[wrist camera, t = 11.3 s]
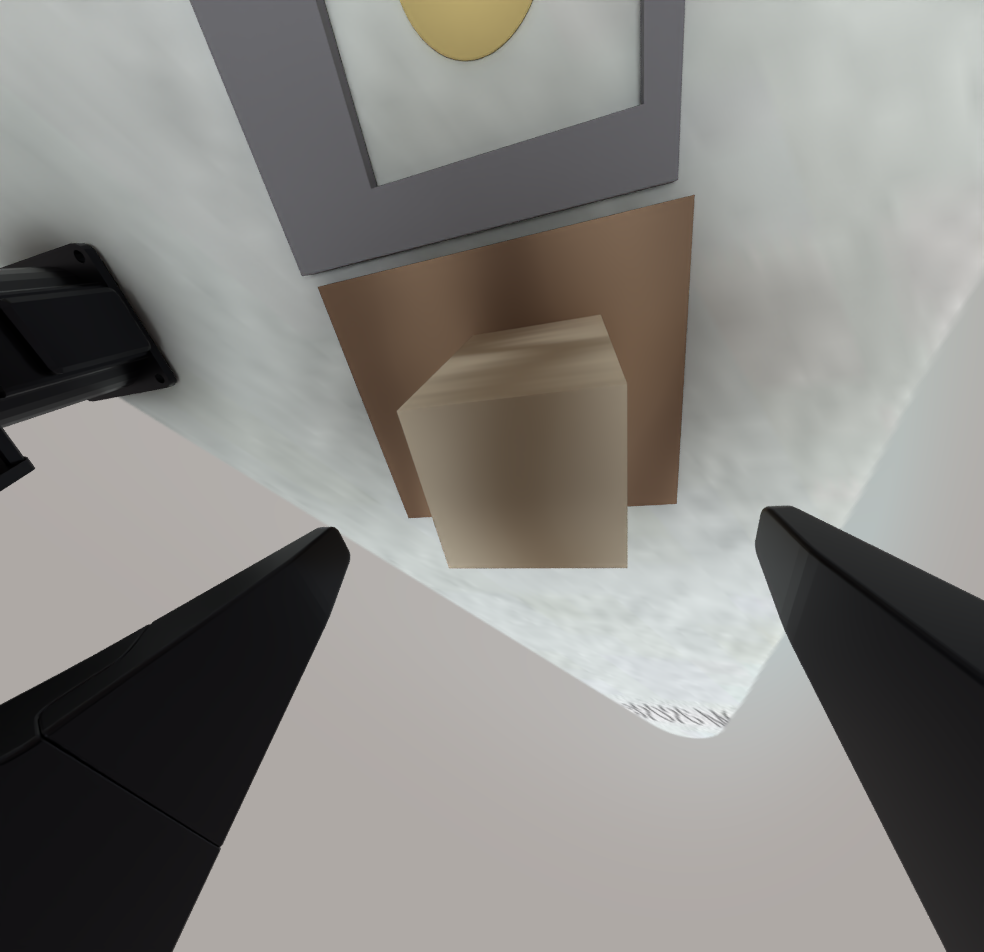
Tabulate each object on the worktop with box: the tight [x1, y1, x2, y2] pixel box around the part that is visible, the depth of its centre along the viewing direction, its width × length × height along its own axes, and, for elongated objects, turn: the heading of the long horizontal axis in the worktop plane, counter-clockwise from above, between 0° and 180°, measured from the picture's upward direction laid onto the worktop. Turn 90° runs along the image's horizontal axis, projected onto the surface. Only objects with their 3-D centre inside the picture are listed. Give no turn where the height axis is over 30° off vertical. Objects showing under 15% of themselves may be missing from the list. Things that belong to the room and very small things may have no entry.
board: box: [318, 195, 695, 518], centre depth 17 cm, size 14×12×1 cm
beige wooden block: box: [397, 315, 627, 568], centre depth 12 cm, size 5×5×8 cm
